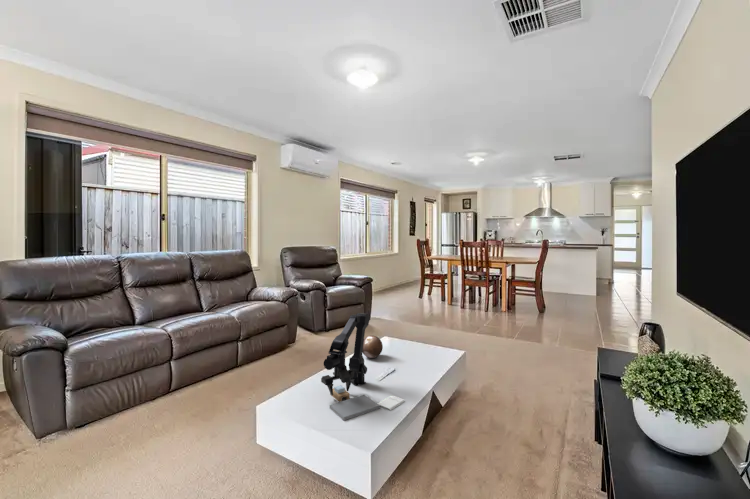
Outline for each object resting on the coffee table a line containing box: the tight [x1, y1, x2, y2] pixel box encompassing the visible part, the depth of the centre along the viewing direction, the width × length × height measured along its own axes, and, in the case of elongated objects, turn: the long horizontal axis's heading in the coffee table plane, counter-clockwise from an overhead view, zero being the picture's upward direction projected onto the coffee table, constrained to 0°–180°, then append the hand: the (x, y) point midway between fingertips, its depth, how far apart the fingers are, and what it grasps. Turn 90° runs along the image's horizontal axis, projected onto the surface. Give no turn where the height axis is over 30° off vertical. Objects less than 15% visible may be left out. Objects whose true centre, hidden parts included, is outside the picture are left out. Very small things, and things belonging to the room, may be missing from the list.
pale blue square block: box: [333, 385, 346, 393], centre depth 180 cm, size 4×4×2 cm
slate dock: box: [329, 394, 381, 421], centre depth 167 cm, size 20×14×2 cm
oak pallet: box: [329, 387, 351, 402], centre depth 179 cm, size 6×10×3 cm, turn 34°
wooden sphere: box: [362, 335, 383, 359], centre depth 239 cm, size 15×15×15 cm
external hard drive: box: [376, 394, 406, 412], centre depth 172 cm, size 2×8×12 cm
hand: (339, 393), depth 180 cm, fingers open, 9 cm apart
